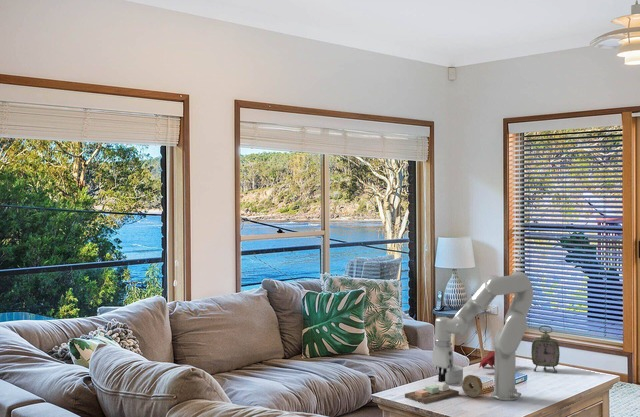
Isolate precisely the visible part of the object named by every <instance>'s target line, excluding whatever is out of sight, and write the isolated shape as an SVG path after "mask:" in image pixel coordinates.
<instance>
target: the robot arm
mask: <svg viewBox="0 0 640 417" xmlns="http://www.w3.org/2000/svg"><path fill="white" fill-rule="evenodd" d="M511 294H514V295H513V298H512V301H511V304H510V305H509V308H508V310H507V311H506V313H505V317H504V325H503V327H502V329H501V330H499V331H498V332H496V334H495V336H494V344H493V345H494V351H495V366H494V368H495V369H494V375H493V377H494V378H493V380H494V382H493V383H494V385H493V387H494V388H493V389H494V390H493V391H491V393H490V397H492V398H493V399H496V400H499V401H507V402H508V401H516V400H518V399H519V398H521V396H522V392H518V388H516V358H517V357H516V351H517V350H518V348H519V346H520V344H521V342H522V339H523V337H524V334H525V333H526V330H527V327H528V319H527V316H528V313H529V311H530V308H531V306H532V303H533V300H534V288H533V285H532V283H531V280H530V278H529V276H528V275H526V274H525V273H524V272H522V271H514V272H513V273H512V274H511V275H503V276H499V275H495V274H492V275H489V276H487V278H486V279H485V280H484V281H483V282H482V284H481V285H480V286H479V287H478V289H477V290H476V291H475V292H474V293H473V295H471V297H470V298H469V299H468V300H467V301H466V302H465V303H464V305H463V306H462V307H461V308H460V309H459V310H458V312H457V313H456V314H455V315H454V316H453V318H452V319H451V318H449V317H448V316H447V317H445V316H438V317H436V318H435V323H434V328H435V329H434V346H433V349H432V358H431V359H432V361H431V362H432V367H433V368H435V369H436V372H437V373H438V376H437V377H438V378H437V380H438V381H437V382H439V383H446V382H445V375H446V373H447V372H448V371H451V368H452V367H453V366H454V351H453V347H452V342H451V341H452V339H451V337H452V335H458V336H462V335H465V334H466V333H467V331H468V329H469V328H468V325H469V324H470V323H471V322H472V321H473V319H474V318H475V317H476V316H477V315H478V314H480V313H481V312H483V311H485V310H486V309H487V308H488V307H489V305H490V304H491V303H492V302H493V300H494V299H495V298H496V297H497V296H505V295H511Z"/></svg>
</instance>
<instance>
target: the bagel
mask: <svg viewBox="0 0 640 417" xmlns="http://www.w3.org/2000/svg"><path fill="white" fill-rule="evenodd" d="M461 389H462V391H463V393H464V394H465V395H466V396H469V397H470V398H471V397H472V398H477V397H479V396H480V395H481V394H482V393H483V389H484V388H483V382H482V380H481V378H480V377H479V376H476V375H473V374H468V375H465V376H464V377H463V379H462V384H461Z"/></svg>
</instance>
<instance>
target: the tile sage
mask: <svg viewBox="0 0 640 417" xmlns="http://www.w3.org/2000/svg"><path fill="white" fill-rule="evenodd" d="M424 389H425V391H428V393H431V394H434V393H438V392H439V387H437V386H436V385H434V384H430V385H425V387H424Z"/></svg>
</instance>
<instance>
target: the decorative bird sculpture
mask: <svg viewBox="0 0 640 417" xmlns="http://www.w3.org/2000/svg"><path fill="white" fill-rule="evenodd" d="M487 365H488V366H490V367H491V368H493V370H495V350H493V351H490V352H489V353H487V354H486V356H485V357H483V358H482V359H481V361H480V363H479V366H478V367H479V369H480V368H484V367H486V366H487Z"/></svg>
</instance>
